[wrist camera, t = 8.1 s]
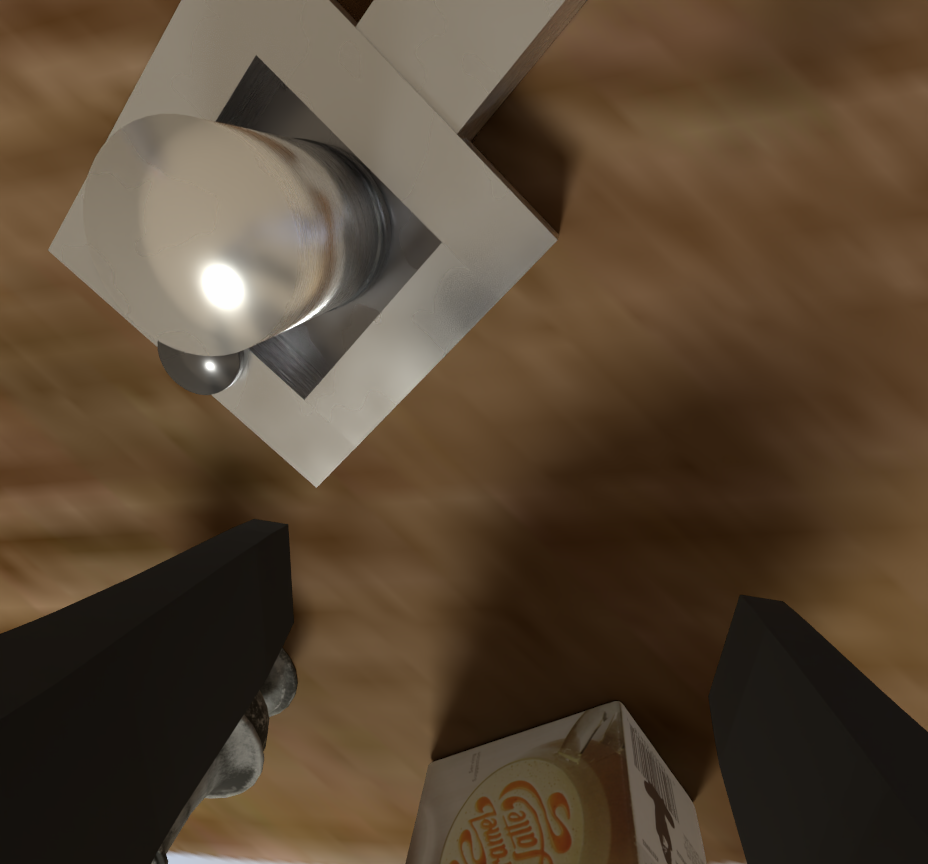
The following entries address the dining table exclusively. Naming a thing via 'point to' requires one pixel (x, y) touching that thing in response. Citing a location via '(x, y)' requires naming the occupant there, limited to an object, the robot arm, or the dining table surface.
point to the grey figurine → (241, 747)
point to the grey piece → (390, 164)
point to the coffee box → (558, 799)
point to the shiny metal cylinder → (229, 230)
